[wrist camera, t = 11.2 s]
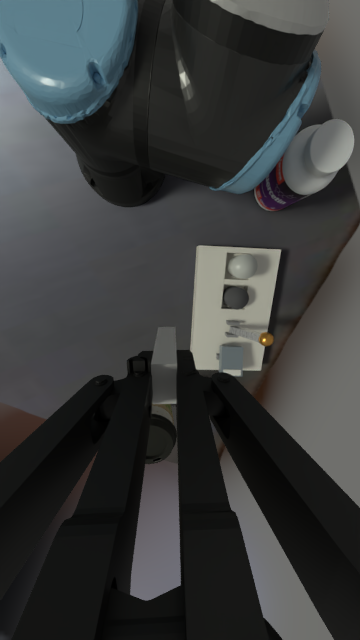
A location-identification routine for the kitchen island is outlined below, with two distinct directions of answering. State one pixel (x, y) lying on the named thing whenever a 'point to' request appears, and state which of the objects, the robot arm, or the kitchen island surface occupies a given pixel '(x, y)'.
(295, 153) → the pill bottle
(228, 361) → the slate blue block
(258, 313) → the panel
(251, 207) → the kitchen island surface
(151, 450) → the coffee cup
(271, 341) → the lever
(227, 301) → the button black
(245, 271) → the button grey
